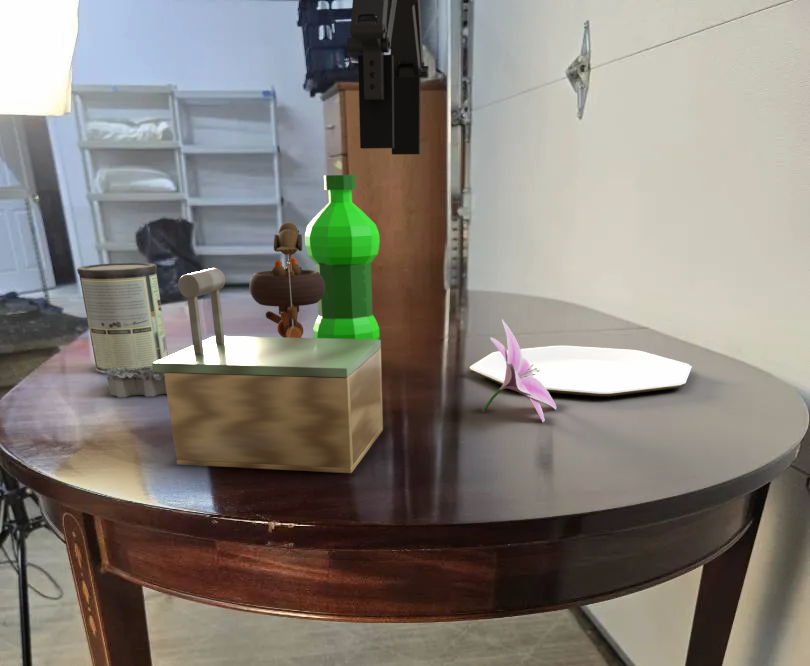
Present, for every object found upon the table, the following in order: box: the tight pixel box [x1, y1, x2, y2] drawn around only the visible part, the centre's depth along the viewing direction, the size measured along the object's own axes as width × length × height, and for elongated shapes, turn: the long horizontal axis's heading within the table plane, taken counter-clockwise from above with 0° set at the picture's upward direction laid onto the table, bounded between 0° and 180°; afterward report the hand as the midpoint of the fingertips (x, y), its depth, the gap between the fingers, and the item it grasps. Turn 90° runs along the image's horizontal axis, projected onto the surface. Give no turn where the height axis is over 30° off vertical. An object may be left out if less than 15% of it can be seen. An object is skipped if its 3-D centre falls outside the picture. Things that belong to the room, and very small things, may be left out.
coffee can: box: [76, 262, 169, 374], centre depth 108 cm, size 10×10×14 cm
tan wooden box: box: [164, 347, 384, 474], centre depth 74 cm, size 17×14×9 cm
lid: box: [152, 267, 382, 378], centre depth 71 cm, size 18×14×8 cm
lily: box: [481, 319, 557, 423], centre depth 84 cm, size 12×12×10 cm
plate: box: [469, 345, 693, 397], centre depth 103 cm, size 28×28×2 cm
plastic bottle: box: [304, 174, 381, 339], centre depth 111 cm, size 10×10×25 cm
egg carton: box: [104, 366, 167, 398], centre depth 97 cm, size 11×8×4 cm
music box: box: [249, 222, 325, 338], centre depth 97 cm, size 15×11×20 cm
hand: (392, 152), depth 70 cm, fingers open, 13 cm apart
